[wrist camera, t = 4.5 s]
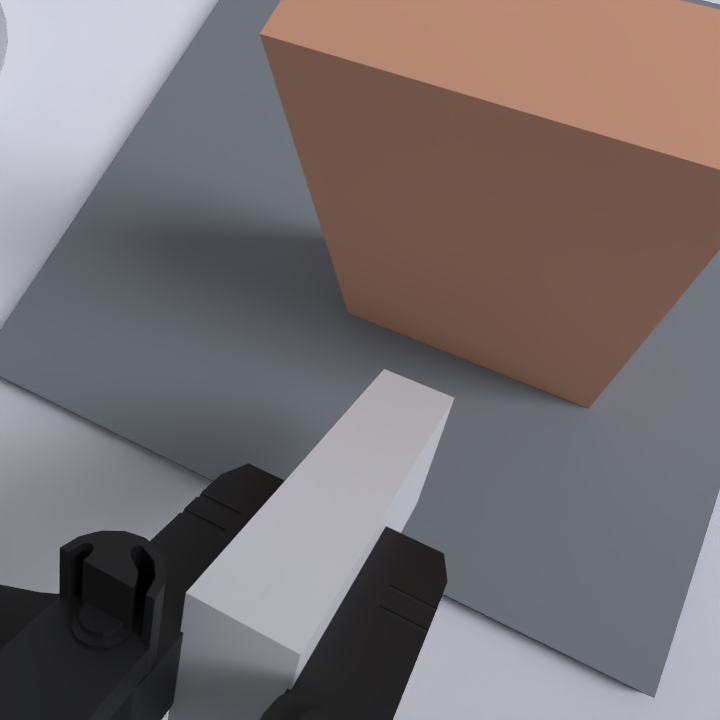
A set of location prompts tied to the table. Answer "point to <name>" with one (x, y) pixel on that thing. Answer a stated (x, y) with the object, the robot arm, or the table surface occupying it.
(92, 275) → the mat
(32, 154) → the table surface
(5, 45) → the flag stand
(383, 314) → the card deck
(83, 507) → the table surface
